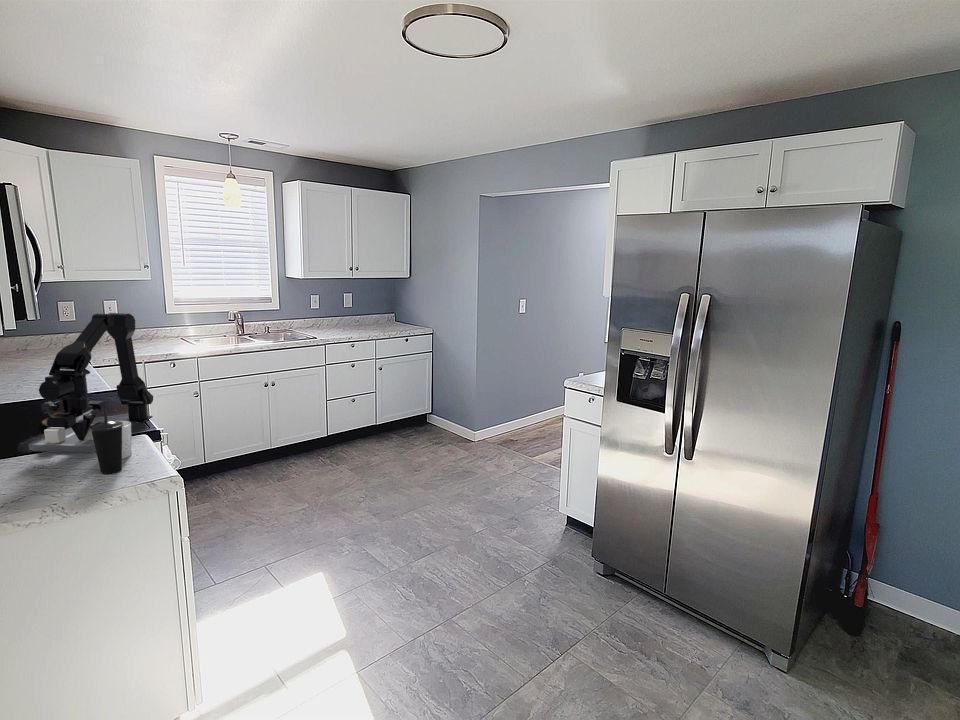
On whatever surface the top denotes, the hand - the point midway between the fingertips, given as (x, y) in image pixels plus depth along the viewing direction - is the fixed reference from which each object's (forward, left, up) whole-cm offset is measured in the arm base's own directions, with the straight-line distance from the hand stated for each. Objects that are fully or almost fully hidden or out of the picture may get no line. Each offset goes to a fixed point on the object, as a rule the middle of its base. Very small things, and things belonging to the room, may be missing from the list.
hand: (81, 440), depth 166 cm
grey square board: (-6, -4, -3) cm, 8 cm away
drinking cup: (+16, +19, -3) cm, 25 cm away
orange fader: (-4, 0, -1) cm, 4 cm away
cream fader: (0, -8, -1) cm, 8 cm away
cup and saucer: (-22, -22, -3) cm, 32 cm away
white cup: (+5, +14, -3) cm, 15 cm away
